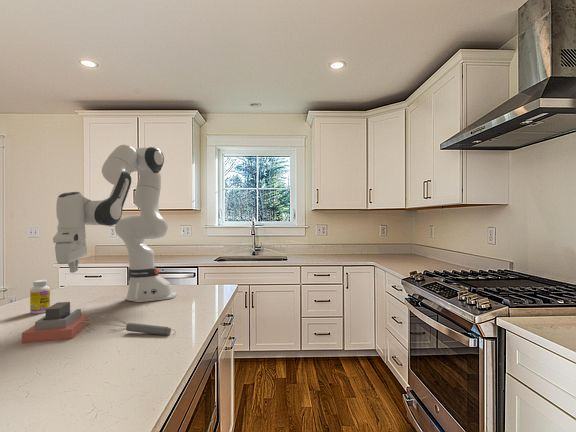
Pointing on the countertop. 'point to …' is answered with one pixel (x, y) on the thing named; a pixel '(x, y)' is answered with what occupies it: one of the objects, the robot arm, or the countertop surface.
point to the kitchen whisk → (137, 327)
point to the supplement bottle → (39, 297)
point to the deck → (56, 328)
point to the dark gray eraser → (58, 311)
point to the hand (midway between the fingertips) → (74, 271)
